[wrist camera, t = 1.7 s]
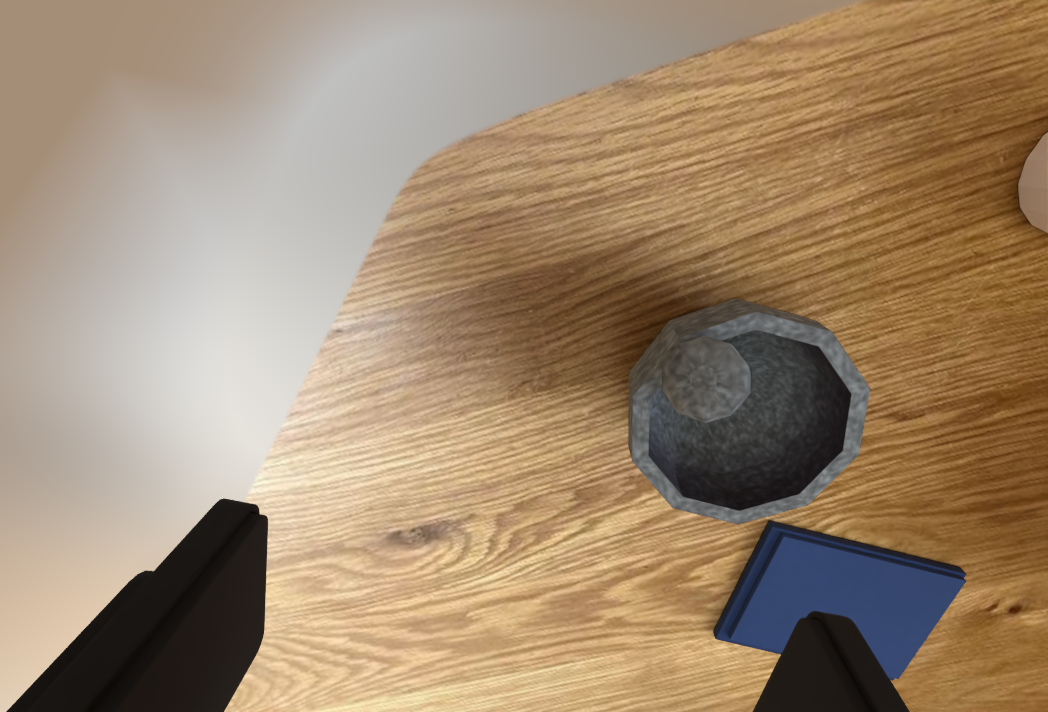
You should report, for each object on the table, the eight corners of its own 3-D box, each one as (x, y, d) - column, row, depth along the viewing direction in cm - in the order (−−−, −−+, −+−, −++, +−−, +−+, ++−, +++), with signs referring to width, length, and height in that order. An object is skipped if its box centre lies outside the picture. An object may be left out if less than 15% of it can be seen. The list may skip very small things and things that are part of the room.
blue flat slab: (712, 631, 37) (716, 644, 36) (768, 520, 33) (775, 531, 32) (888, 672, 37) (897, 686, 36) (960, 567, 34) (971, 579, 33)
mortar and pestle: (833, 380, 30) (1000, 526, 19) (683, 474, 32) (751, 652, 21) (716, 210, 27) (829, 263, 16) (561, 327, 30) (565, 444, 18)
